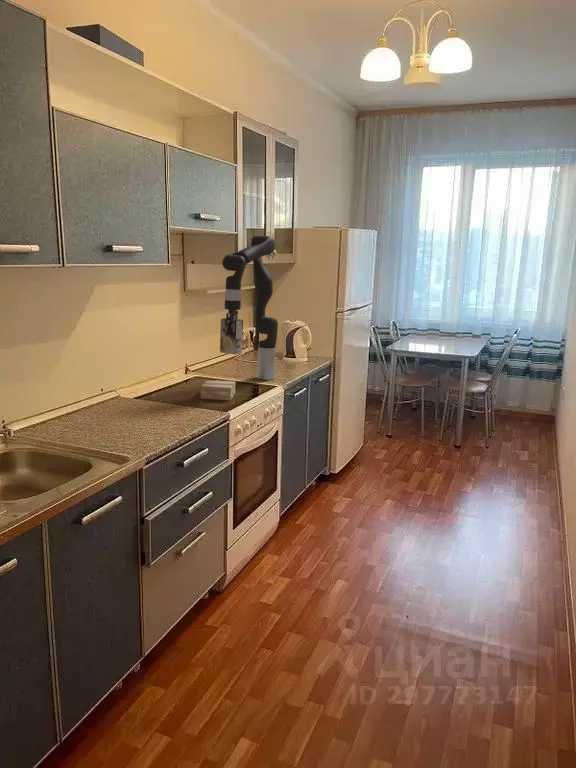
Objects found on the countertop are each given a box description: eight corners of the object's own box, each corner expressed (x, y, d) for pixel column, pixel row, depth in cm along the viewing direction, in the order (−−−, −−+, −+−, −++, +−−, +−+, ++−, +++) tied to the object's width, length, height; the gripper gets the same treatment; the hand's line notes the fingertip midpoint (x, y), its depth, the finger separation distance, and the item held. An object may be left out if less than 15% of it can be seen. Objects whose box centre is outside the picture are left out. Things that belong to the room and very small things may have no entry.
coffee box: (242, 353, 270) (244, 319, 266) (235, 354, 264) (236, 320, 261) (226, 350, 274) (227, 317, 270) (219, 352, 268) (220, 318, 265)
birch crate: (206, 391, 276) (207, 379, 274) (235, 393, 275) (235, 381, 274) (200, 399, 262) (200, 386, 261) (230, 401, 262) (230, 388, 260)
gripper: (228, 297, 271) (227, 331, 274) (221, 299, 257) (220, 335, 260) (243, 298, 270) (242, 332, 273) (237, 300, 256) (236, 336, 260)
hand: (231, 333), depth 267 cm, fingers closed on coffee box, 7 cm apart
